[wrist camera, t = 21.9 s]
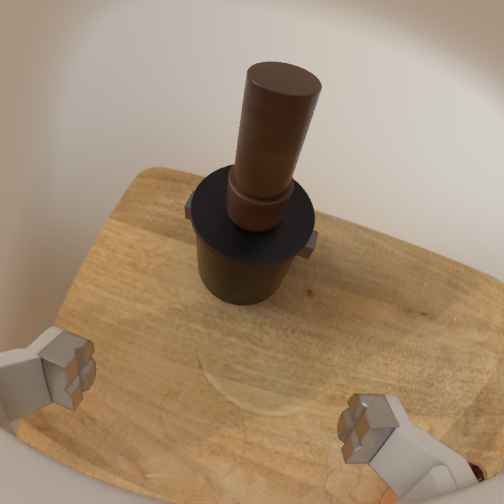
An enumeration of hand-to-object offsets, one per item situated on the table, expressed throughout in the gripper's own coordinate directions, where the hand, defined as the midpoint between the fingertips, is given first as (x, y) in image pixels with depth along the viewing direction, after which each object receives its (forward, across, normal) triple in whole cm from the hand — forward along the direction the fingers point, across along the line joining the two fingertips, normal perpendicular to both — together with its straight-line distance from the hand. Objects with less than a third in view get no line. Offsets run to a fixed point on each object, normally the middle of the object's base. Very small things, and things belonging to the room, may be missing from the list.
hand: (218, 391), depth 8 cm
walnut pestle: (+14, 0, -4) cm, 14 cm away
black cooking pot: (+20, 0, +2) cm, 20 cm away
